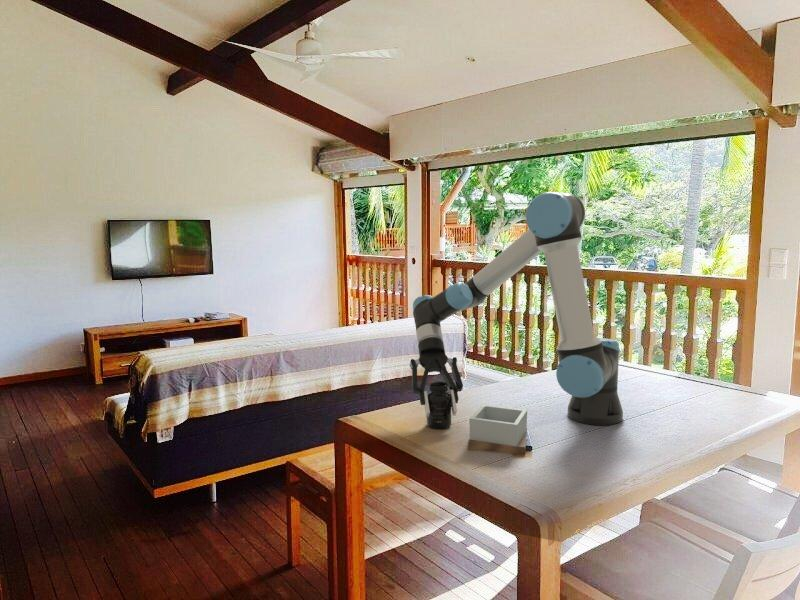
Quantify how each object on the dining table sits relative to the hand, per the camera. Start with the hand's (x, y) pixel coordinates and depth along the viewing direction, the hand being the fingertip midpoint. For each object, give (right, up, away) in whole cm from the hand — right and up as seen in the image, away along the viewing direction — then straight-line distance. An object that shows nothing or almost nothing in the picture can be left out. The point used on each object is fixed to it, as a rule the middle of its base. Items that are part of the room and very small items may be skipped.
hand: (441, 414), depth 162 cm
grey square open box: (+14, -4, -8) cm, 17 cm away
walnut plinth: (+14, -6, -8) cm, 17 cm away
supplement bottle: (0, -4, +4) cm, 6 cm away
